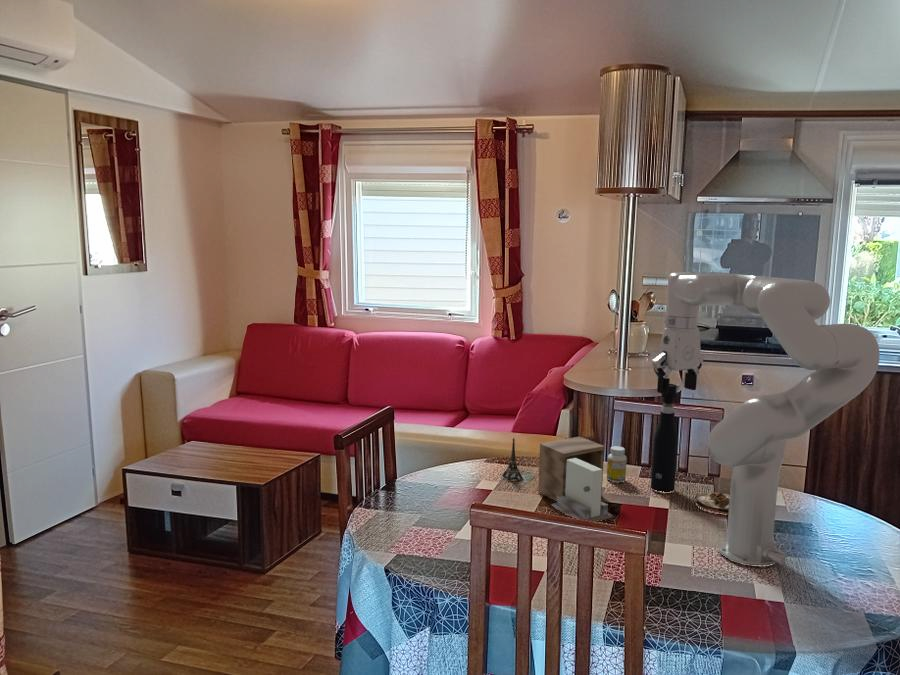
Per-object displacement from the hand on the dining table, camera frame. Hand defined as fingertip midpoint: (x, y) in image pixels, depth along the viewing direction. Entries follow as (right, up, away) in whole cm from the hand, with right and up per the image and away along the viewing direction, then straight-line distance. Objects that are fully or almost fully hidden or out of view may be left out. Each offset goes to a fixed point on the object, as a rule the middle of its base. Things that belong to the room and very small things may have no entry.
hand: (676, 391), depth 179 cm
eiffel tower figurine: (-38, -28, +30) cm, 56 cm away
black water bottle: (+3, -29, +22) cm, 37 cm away
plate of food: (+15, -32, +11) cm, 37 cm away
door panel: (-23, -31, +5) cm, 38 cm away
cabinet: (-22, -30, +11) cm, 39 cm away
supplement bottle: (-8, -28, +29) cm, 41 cm away
